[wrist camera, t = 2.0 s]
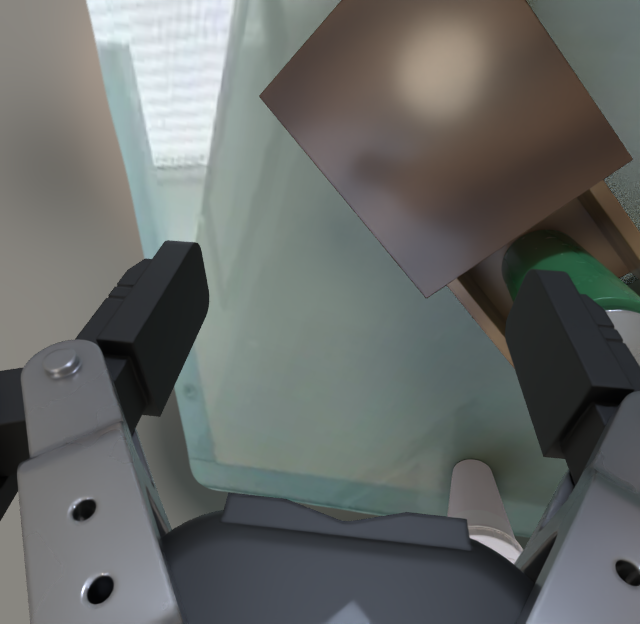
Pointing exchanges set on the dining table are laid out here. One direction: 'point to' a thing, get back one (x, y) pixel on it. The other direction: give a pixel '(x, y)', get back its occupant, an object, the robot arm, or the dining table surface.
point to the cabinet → (444, 126)
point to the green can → (575, 278)
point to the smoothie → (482, 508)
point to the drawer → (577, 222)
